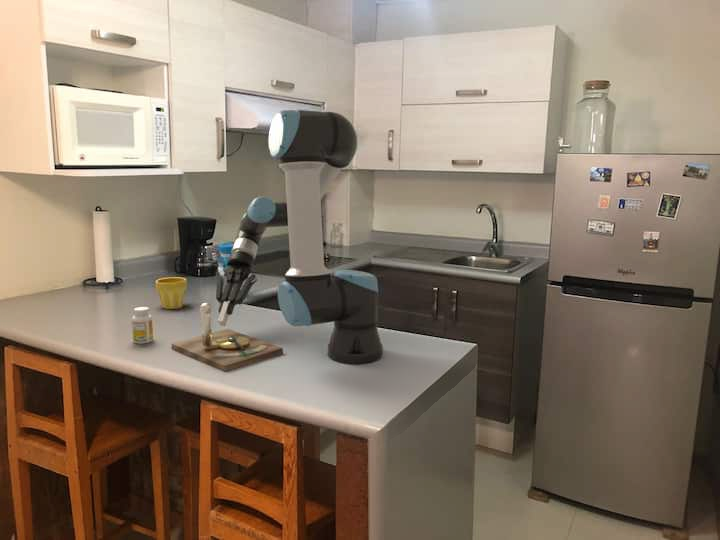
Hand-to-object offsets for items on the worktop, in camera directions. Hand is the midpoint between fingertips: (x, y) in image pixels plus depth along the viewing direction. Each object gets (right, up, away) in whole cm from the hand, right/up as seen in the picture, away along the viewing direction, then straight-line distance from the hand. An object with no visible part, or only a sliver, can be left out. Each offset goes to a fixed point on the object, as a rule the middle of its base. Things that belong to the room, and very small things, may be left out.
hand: (221, 323), depth 167 cm
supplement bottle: (-23, -5, +1) cm, 24 cm away
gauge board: (+3, -7, -6) cm, 10 cm away
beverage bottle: (-10, +5, +54) cm, 55 cm away
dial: (+3, -6, -8) cm, 10 cm away
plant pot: (-27, +2, +39) cm, 47 cm away
